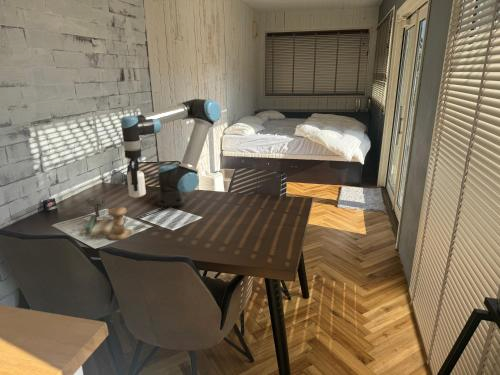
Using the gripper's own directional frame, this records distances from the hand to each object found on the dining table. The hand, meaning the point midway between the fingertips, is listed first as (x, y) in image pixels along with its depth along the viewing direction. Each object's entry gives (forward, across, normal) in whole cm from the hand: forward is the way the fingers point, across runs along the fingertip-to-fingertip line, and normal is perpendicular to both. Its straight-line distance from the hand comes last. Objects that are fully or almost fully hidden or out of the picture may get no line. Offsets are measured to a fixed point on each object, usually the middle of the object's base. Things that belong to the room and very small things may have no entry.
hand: (137, 193), depth 173 cm
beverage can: (+1, 0, 0) cm, 1 cm away
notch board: (+16, +2, -17) cm, 23 cm away
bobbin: (+16, +13, -9) cm, 22 cm away
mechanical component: (+16, -14, -23) cm, 32 cm away
